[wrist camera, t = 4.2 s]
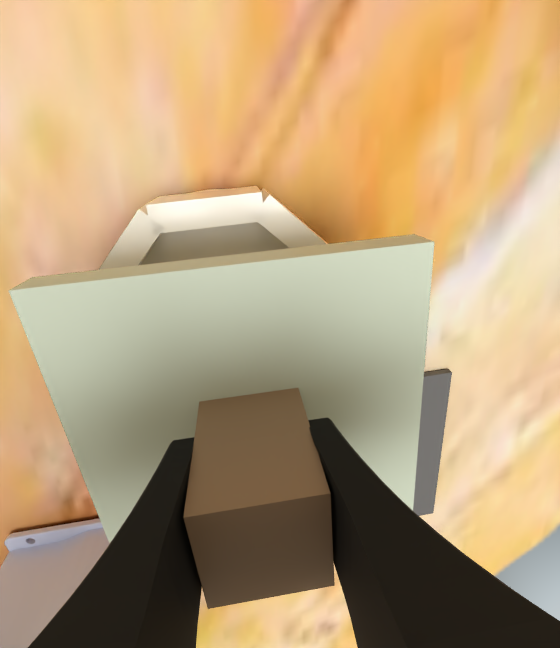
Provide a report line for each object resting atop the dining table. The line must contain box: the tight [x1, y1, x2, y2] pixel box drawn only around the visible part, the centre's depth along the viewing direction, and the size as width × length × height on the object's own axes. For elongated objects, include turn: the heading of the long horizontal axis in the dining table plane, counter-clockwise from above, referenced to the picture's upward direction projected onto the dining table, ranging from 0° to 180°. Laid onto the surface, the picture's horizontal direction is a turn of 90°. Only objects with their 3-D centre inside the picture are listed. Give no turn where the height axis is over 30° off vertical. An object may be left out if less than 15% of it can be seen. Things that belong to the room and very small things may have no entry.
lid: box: [9, 234, 434, 609], centre depth 10 cm, size 11×11×5 cm
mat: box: [413, 369, 452, 516], centre depth 24 cm, size 12×12×1 cm
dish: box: [99, 186, 328, 270], centre depth 17 cm, size 10×10×3 cm
